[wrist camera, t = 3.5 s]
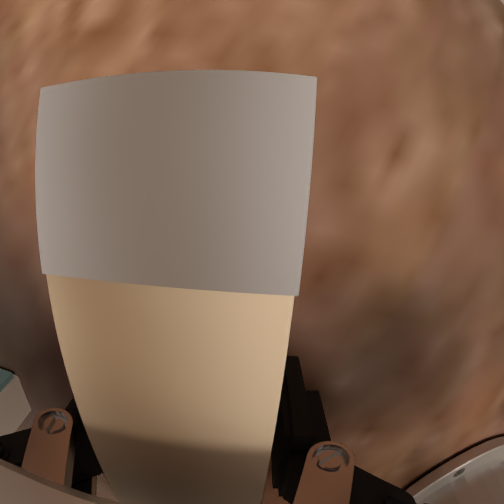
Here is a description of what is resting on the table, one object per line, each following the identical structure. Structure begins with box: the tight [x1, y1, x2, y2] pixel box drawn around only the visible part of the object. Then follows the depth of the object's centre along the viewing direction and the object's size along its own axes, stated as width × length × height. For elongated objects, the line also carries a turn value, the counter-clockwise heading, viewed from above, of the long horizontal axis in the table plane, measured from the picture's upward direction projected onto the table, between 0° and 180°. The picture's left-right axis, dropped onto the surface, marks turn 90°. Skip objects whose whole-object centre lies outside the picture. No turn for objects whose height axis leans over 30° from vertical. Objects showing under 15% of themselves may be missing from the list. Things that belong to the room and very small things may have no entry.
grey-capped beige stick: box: [35, 70, 317, 504], centre depth 9 cm, size 4×18×6 cm, turn 176°
